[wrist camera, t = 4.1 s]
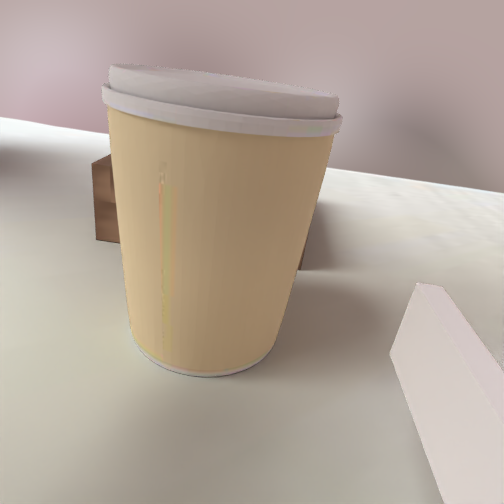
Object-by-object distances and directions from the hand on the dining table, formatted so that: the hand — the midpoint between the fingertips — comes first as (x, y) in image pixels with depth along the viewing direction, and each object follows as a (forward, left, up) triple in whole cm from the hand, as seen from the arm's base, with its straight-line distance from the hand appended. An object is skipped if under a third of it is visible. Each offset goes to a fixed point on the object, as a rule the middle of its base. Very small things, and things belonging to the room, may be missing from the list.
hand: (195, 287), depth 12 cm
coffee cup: (0, +6, -7) cm, 9 cm away
